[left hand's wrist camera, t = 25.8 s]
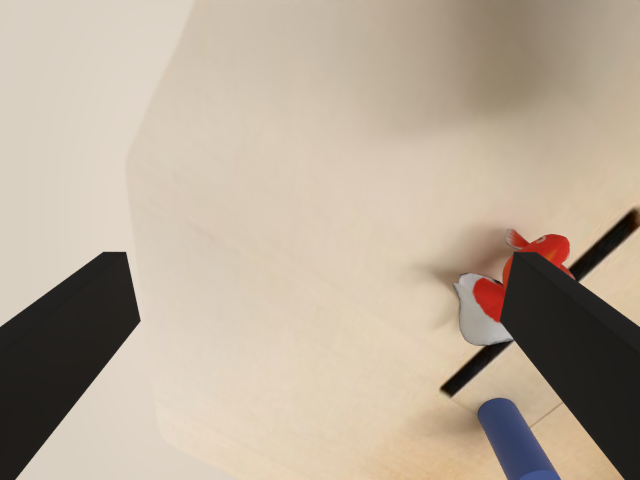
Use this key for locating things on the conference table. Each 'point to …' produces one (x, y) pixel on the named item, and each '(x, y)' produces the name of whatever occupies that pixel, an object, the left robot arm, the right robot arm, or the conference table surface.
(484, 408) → the canister
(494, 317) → the fish
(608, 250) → the conference table surface
